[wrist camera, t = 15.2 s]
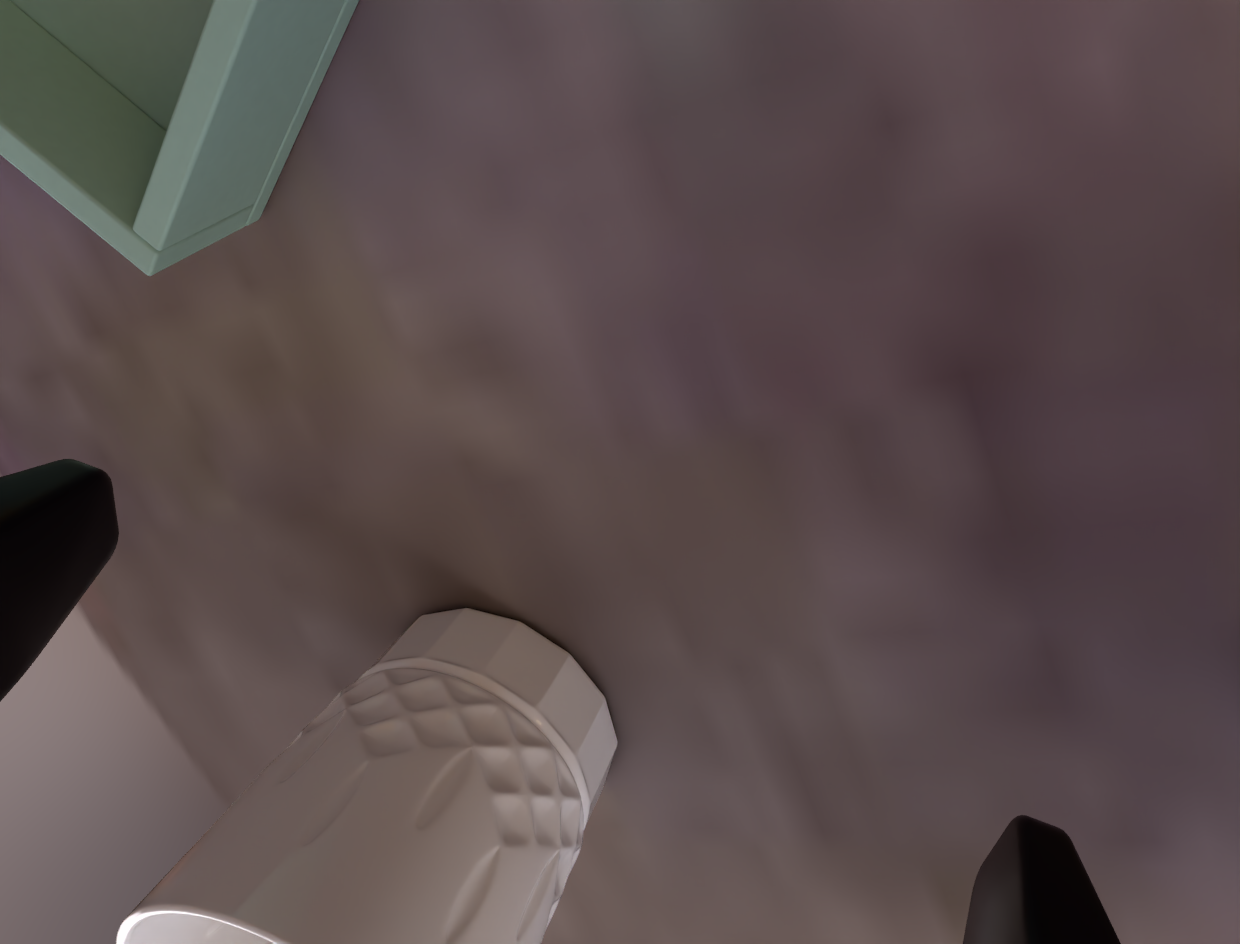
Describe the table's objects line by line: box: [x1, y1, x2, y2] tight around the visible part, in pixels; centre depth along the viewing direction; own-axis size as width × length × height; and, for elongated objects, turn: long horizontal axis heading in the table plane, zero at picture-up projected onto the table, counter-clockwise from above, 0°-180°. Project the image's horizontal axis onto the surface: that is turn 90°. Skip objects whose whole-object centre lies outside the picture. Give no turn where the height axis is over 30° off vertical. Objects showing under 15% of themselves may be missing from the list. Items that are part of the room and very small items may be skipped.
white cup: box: [116, 608, 618, 944], centre depth 26 cm, size 8×8×10 cm
